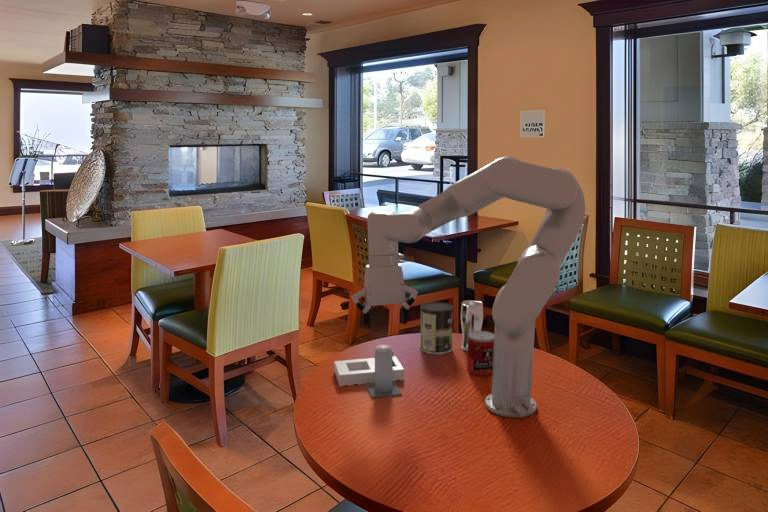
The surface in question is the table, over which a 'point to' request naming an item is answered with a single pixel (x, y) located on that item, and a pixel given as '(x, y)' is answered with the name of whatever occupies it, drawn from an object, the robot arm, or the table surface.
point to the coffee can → (436, 327)
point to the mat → (376, 394)
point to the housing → (363, 371)
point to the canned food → (480, 353)
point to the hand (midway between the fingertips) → (385, 324)
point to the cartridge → (383, 368)
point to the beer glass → (470, 319)
